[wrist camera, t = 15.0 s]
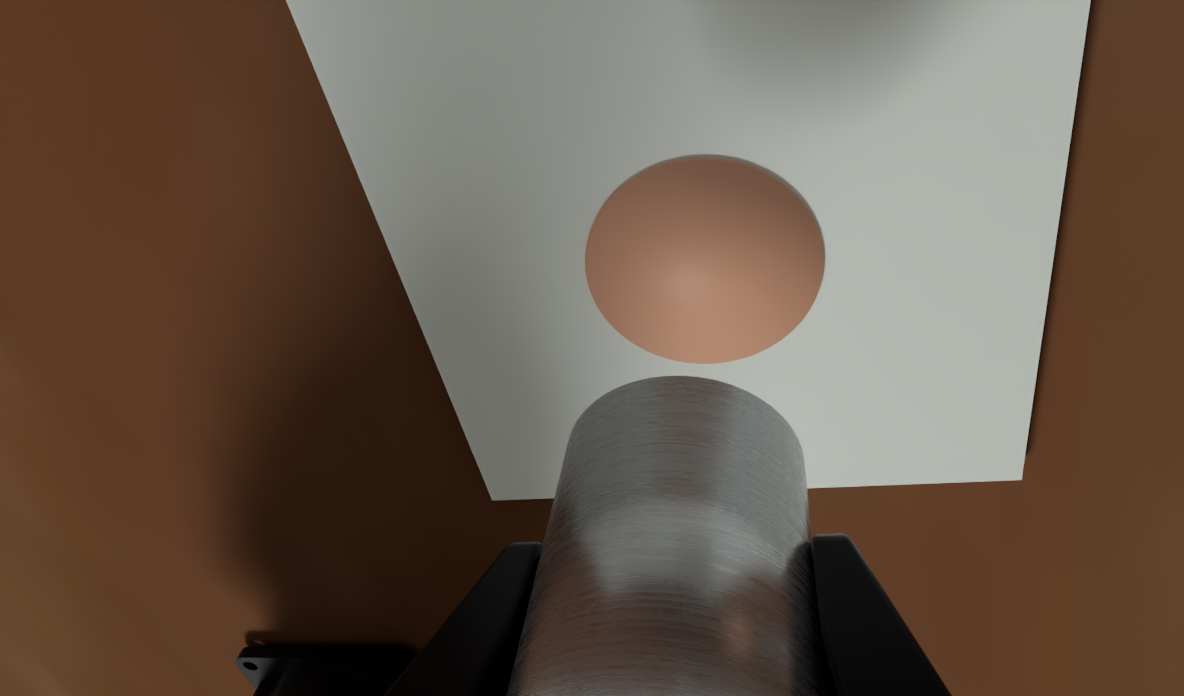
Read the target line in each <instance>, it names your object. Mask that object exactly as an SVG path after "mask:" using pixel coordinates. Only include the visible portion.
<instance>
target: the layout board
mask: <svg viewBox="0 0 1184 696" xmlns="http://www.w3.org/2000/svg"><path fill="white" fill-rule="evenodd" d="M286 2H287V4H288V6H289V9H290V11H291V14H292V16H293V19H294V21H295V23H296V26H297V28H298V31H299V33H300V36H301V38H302V40H303V43H304V45H305V48H306V50H307V53H308V55H309V57H310V60H311V62H312V65H313V67H314V69H315V72H316V74H317V77H318V79H319V82H320V84H321V86H322V89H323V91H324V94H325V96H326V99H327V101H328V103H329V106H330V108H331V111H332V113H333V116H334V118H335V120H336V123H337V125H338V128H339V130H340V133H341V135H342V137H343V140H344V142H345V145H346V147H347V150H348V152H349V154H350V157H351V159H352V162H353V164H354V167H355V169H356V171H357V174H358V176H359V179H360V181H361V184H362V186H363V188H364V191H365V193H366V196H367V198H368V200H369V203H370V205H371V208H372V210H373V213H374V215H375V217H376V220H377V222H378V225H379V227H380V230H381V232H382V234H383V237H384V239H385V242H386V244H387V247H388V249H389V251H390V254H391V256H392V259H393V261H394V264H395V266H396V268H397V271H398V273H399V276H400V278H401V281H402V283H403V285H404V288H405V290H406V293H407V295H408V298H409V300H410V302H411V305H412V307H413V310H414V312H415V315H416V317H417V319H418V322H419V324H420V327H421V329H422V331H423V334H424V336H425V339H426V341H427V344H428V346H429V348H430V351H431V353H432V356H433V358H434V361H435V363H436V365H437V368H438V370H439V373H440V375H441V378H442V380H443V382H444V385H445V387H446V390H447V392H448V395H449V397H450V399H451V402H452V404H453V407H454V409H455V412H456V414H457V416H458V419H459V421H460V424H461V426H462V429H463V431H464V433H465V436H466V438H467V441H468V443H469V446H470V448H471V450H472V453H473V455H474V458H475V460H476V462H477V465H478V467H479V470H480V472H481V475H482V477H483V479H484V482H485V484H486V487H487V489H488V492H489V494H490V496H491V499H492V501H493V500H519V499H545V498H554V497H555V493H556V489H557V485H558V481H559V477H560V473H561V468H562V464H563V460H564V456H565V452H566V448H567V444H568V440H569V437H570V434H571V431H572V429H573V427H574V425H575V423H576V421H577V420H578V418H579V417H580V416H581V414H582V413H583V412H584V411H585V410H586V409H587V408H588V407H589V406H590V405H591V404H592V403H593V402H594V401H596V400H597V399H599V398H600V397H601V396H603V395H604V394H606V393H608V392H610V391H612V390H614V389H616V388H618V387H620V386H623V385H625V384H628V383H631V382H634V381H638V380H643V379H647V378H653V377H661V376H693V377H701V378H707V379H712V380H717V381H720V382H724V383H727V384H731V385H733V386H736V387H738V388H741V389H743V390H746V391H748V392H750V393H751V394H753V395H755V396H757V397H759V398H760V399H762V400H763V401H765V402H766V403H767V404H769V405H770V406H772V407H773V408H774V409H775V410H776V411H777V412H778V413H779V414H781V415H782V416H783V417H784V419H785V420H786V421H787V422H788V424H789V425H790V426H791V427H792V429H793V430H794V432H795V434H796V436H797V437H798V439H799V442H800V445H801V447H802V450H803V456H804V461H805V471H806V481H807V488H828V487H854V486H879V485H905V484H931V483H957V482H982V481H1008V480H1022V474H1023V467H1024V460H1025V453H1026V446H1027V439H1028V432H1029V425H1030V418H1031V411H1032V404H1033V398H1034V391H1035V384H1036V377H1037V370H1038V363H1039V356H1040V349H1041V342H1042V335H1043V328H1044V321H1045V314H1046V307H1047V300H1048V293H1049V286H1050V280H1051V273H1052V266H1053V259H1054V252H1055V245H1056V238H1057V231H1058V224H1059V217H1060V210H1061V203H1062V196H1063V189H1064V182H1065V175H1066V169H1067V162H1068V155H1069V148H1070V141H1071V134H1072V127H1073V120H1074V113H1075V106H1076V99H1077V92H1078V85H1079V78H1080V71H1081V64H1082V57H1083V51H1084V44H1085V37H1086V30H1087V23H1088V16H1089V9H1090V2H1091V0H286Z"/></svg>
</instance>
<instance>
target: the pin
mask: <svg viewBox="0 0 1184 696" xmlns="http://www.w3.org/2000/svg"><path fill="white" fill-rule="evenodd" d="M811 539H812V531H811V521H810V511H809V501H808V491H807V481H806V471H805V461H804V456H803V450H802V447H801V445H800V442H799V439H798V437H797V436H796V434H795V432H794V430H793V429H792V427H791V426H790V425H789V424H788V422H787V421H786V420H785V419H784V417H783V416H782V415H781V414H779V413H778V412H777V411H776V410H775V409H774V408H773V407H772V406H770V405H769V404H767V403H766V402H765V401H763V400H762V399H760V398H759V397H757V396H755V395H753V394H751V393H750V392H748V391H746V390H743V389H741V388H738V387H736V386H733V385H731V384H727V383H724V382H720V381H717V380H712V379H707V378H701V377H693V376H661V377H653V378H647V379H643V380H638V381H634V382H631V383H628V384H625V385H623V386H620V387H618V388H616V389H614V390H612V391H610V392H608V393H606V394H604V395H603V396H601V397H600V398H599V399H597V400H596V401H594V402H593V403H592V404H591V405H590V406H589V407H588V408H587V409H586V410H585V411H584V412H583V413H582V414H581V416H580V417H579V418H578V420H577V421H576V423H575V425H574V427H573V429H572V431H571V434H570V437H569V440H568V444H567V448H566V452H565V456H564V460H563V464H562V468H561V473H560V477H559V481H558V485H557V489H556V493H555V497H554V501H553V505H552V510H551V514H550V518H549V522H548V526H547V530H546V534H545V538H544V542H543V546H542V551H541V555H540V559H539V563H538V567H537V571H536V575H535V579H534V583H533V588H532V592H531V596H530V600H529V604H528V608H527V612H526V616H525V620H524V624H523V629H522V633H521V637H520V641H519V645H518V649H517V653H516V657H515V661H514V666H513V670H512V674H511V678H510V682H509V686H508V690H507V694H506V696H828V691H827V684H826V677H825V670H824V664H823V657H822V649H821V641H820V631H819V621H818V611H817V600H816V590H815V580H814V570H813V560H812V549H811Z"/></svg>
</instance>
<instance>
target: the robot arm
mask: <svg viewBox="0 0 1184 696" xmlns="http://www.w3.org/2000/svg"><path fill="white" fill-rule="evenodd" d="M542 546H543V545H542V544H541V543H540V542H515V543H511V544H510V545H508V546H507V547H506V548H505V549H504V550H503V551H502V553H501V554H500V555H499V556H498V557H497V559H496V560H495V561H494V562H493V564H492V565H491V566H490V567H489V568H488V570H487V571H486V572H485V573H484V575H483V576H482V577H481V578H480V579H479V581H478V582H477V583H476V584H475V586H474V587H473V588H472V589H471V590H470V592H469V593H468V594H467V595H466V596H465V598H464V599H463V600H462V601H461V603H460V604H459V605H458V606H457V607H456V609H455V610H454V611H453V612H452V614H451V615H450V616H449V617H448V618H447V620H446V621H445V622H444V623H443V625H442V626H441V627H440V628H439V629H438V631H437V632H436V633H435V634H434V636H433V637H432V638H431V639H430V640H429V642H428V643H427V644H426V645H425V647H424V648H423V649H422V650H421V651H420V653H419V654H418V655H416V654H415V653H413V652H411V651H409V650H406V649H401V648H332V647H245V648H243V649H242V650H241V652H240V654H239V656H238V658H237V660H236V664H237V666H238V667H239V668H240V670H241V671H242V672H243V673H244V674H245V676H246V677H247V678H248V679H249V681H250V682H251V683H252V684H253V685H254V687H255V688H256V691H255V693H254V695H253V696H506V694H507V690H508V686H509V682H510V678H511V674H512V670H513V666H514V661H515V657H516V653H517V649H518V645H519V641H520V637H521V633H522V629H523V624H524V620H525V616H526V612H527V608H528V604H529V600H530V596H531V592H532V588H533V583H534V579H535V575H536V571H537V567H538V563H539V559H540V555H541V551H542ZM811 549H812V560H813V570H814V580H815V590H816V600H817V611H818V621H819V631H820V641H821V649H822V657H823V664H824V670H825V677H826V684H827V691H828V696H952V695H951V694H950V692H949V690H948V689H947V687H946V686H945V684H944V683H943V681H942V680H941V678H940V676H939V675H938V673H937V672H936V670H935V669H934V667H933V666H932V664H931V662H930V661H929V659H928V658H927V656H926V655H925V653H924V652H923V650H922V648H921V647H920V645H919V644H918V642H917V641H916V639H915V638H914V636H913V634H912V633H911V631H910V630H909V628H908V627H907V625H906V624H905V622H904V620H903V619H902V617H901V616H900V614H899V613H898V611H897V610H896V608H895V607H894V605H893V603H892V602H891V600H890V599H889V597H888V596H887V594H886V593H885V591H884V589H883V588H882V586H881V585H880V583H879V582H878V580H877V579H876V577H875V575H874V574H873V572H872V571H871V569H870V568H869V566H868V565H867V563H866V561H865V560H864V558H863V557H862V555H861V554H860V552H859V551H858V549H857V547H856V546H855V544H854V543H853V541H852V540H851V539H850V538H849V537H848V536H847V535H845V534H817V535H814V536H813V537H812V539H811Z"/></svg>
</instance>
